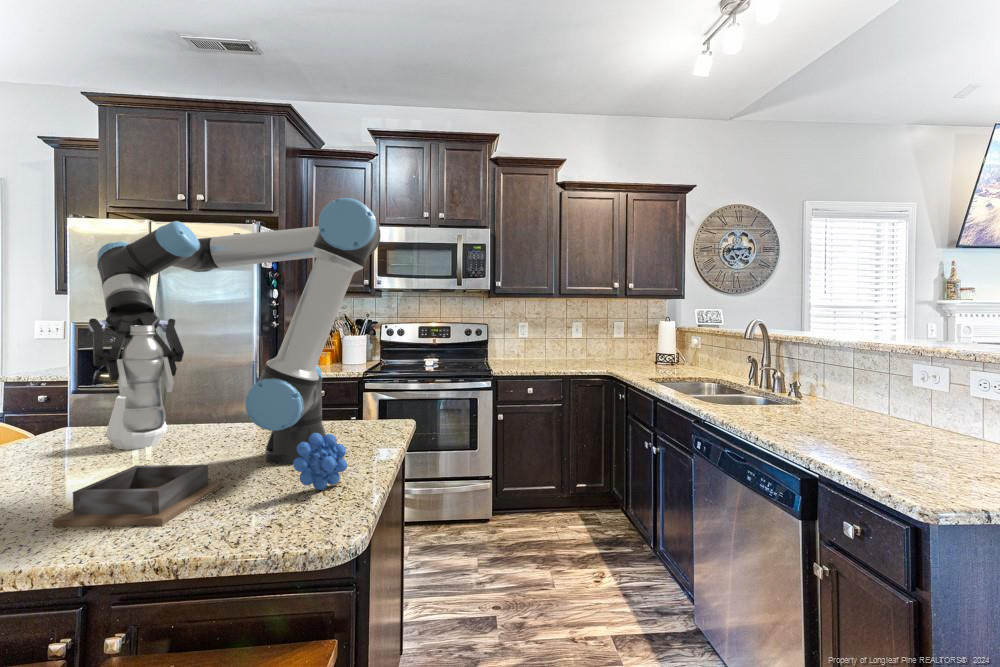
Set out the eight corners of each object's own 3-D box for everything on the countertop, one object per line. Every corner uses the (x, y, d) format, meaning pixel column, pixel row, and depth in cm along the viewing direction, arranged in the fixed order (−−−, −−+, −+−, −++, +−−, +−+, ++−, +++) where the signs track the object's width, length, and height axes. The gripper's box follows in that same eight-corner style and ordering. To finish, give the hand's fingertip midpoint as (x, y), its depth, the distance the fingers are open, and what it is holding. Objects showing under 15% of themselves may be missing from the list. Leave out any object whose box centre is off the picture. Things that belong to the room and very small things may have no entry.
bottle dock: (222, 486, 97) (221, 462, 96) (162, 525, 79) (162, 494, 78) (133, 487, 96) (132, 462, 96) (53, 526, 78) (52, 496, 78)
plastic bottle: (118, 438, 82) (115, 326, 82) (127, 430, 88) (125, 325, 88) (162, 434, 85) (160, 325, 85) (168, 426, 91) (166, 325, 91)
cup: (128, 439, 134) (127, 391, 133) (177, 438, 135) (177, 391, 135) (92, 453, 121) (91, 399, 120) (148, 451, 122) (147, 399, 122)
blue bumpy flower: (305, 503, 88) (304, 441, 87) (287, 495, 92) (287, 435, 92) (358, 486, 97) (358, 429, 96) (340, 479, 101) (339, 424, 101)
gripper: (181, 315, 104) (204, 396, 93) (64, 314, 90) (75, 409, 79) (187, 290, 100) (211, 372, 89) (65, 285, 86) (78, 381, 75)
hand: (147, 389), depth 84 cm, fingers closed on plastic bottle, 6 cm apart
